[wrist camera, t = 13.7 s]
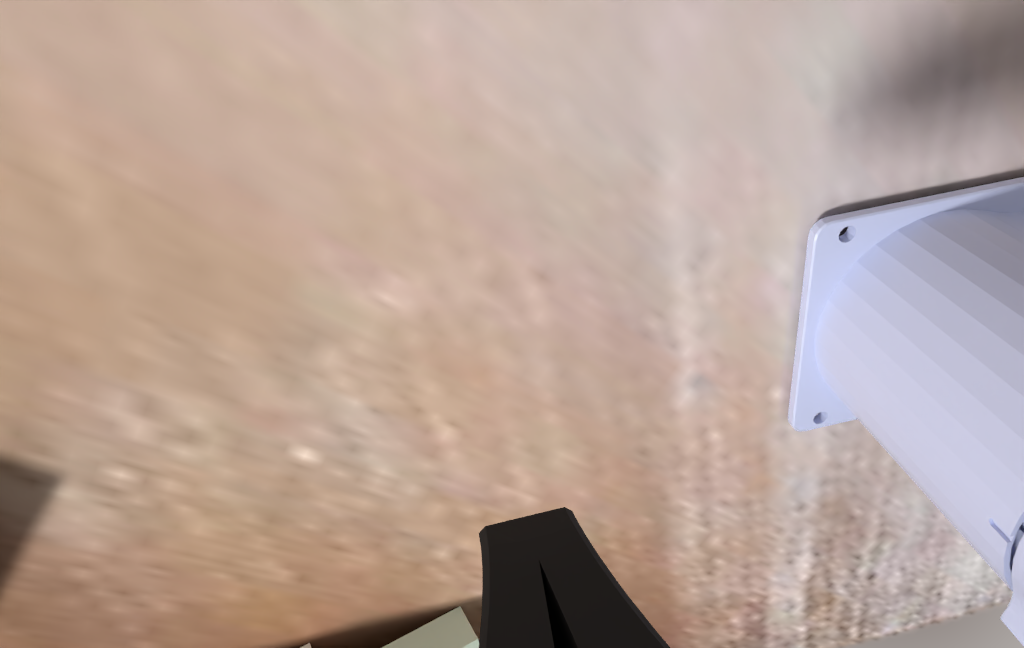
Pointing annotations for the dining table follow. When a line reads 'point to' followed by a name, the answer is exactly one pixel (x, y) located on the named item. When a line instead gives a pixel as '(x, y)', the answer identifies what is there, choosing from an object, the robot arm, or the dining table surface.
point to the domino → (306, 646)
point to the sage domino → (441, 633)
